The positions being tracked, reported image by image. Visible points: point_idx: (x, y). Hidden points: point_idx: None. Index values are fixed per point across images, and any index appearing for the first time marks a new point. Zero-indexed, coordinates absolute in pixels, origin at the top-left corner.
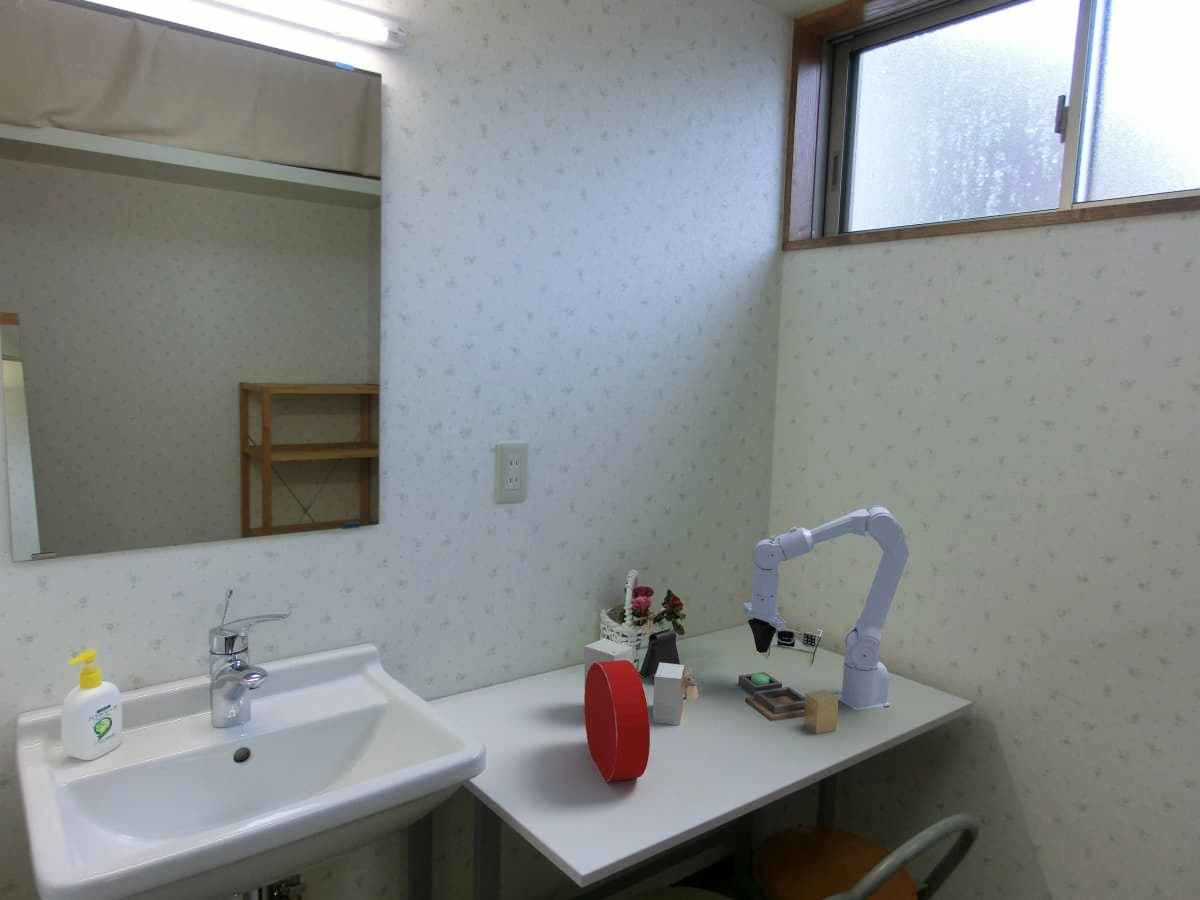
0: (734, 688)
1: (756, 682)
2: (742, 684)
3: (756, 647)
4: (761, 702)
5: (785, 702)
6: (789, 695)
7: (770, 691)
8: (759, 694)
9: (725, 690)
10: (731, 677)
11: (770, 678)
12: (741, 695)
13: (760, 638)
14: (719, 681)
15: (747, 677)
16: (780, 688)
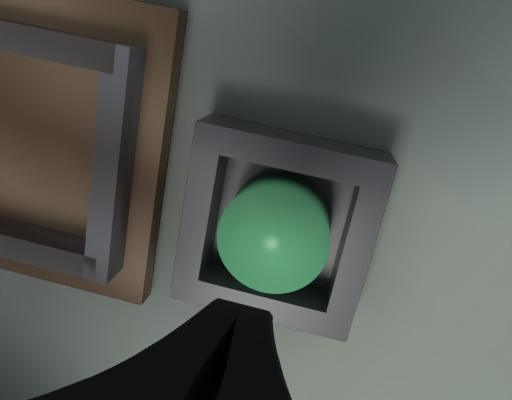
0: (364, 93)
1: (255, 186)
2: (346, 147)
3: (255, 320)
4: (67, 32)
5: (41, 169)
6: (80, 240)
7: (94, 144)
8: (86, 49)
9: (374, 17)
10: (498, 196)
11: (256, 299)
12: (267, 58)
13: (107, 370)
14: (502, 82)
15: (354, 203)
16: (105, 228)
